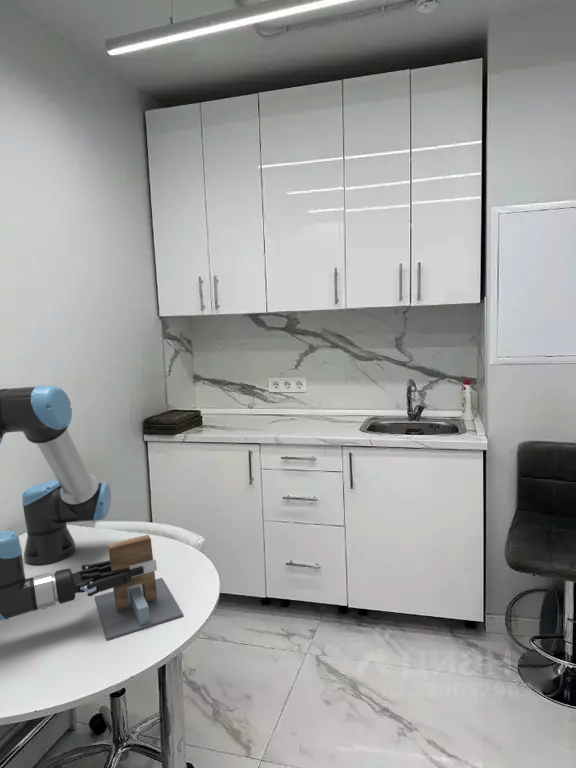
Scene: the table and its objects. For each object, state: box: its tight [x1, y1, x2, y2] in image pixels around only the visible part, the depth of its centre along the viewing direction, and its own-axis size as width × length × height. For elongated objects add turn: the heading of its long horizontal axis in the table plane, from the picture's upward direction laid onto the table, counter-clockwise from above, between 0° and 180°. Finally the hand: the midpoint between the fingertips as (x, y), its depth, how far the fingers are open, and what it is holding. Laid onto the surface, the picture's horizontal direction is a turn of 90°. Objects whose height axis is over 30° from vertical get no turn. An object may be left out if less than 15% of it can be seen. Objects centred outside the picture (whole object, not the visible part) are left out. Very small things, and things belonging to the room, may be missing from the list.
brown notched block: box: [107, 534, 157, 610], centre depth 137 cm, size 3×10×16 cm, turn 116°
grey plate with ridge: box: [94, 577, 184, 641], centre depth 138 cm, size 22×18×5 cm
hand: (154, 562), depth 139 cm, fingers closed on brown notched block, 3 cm apart
